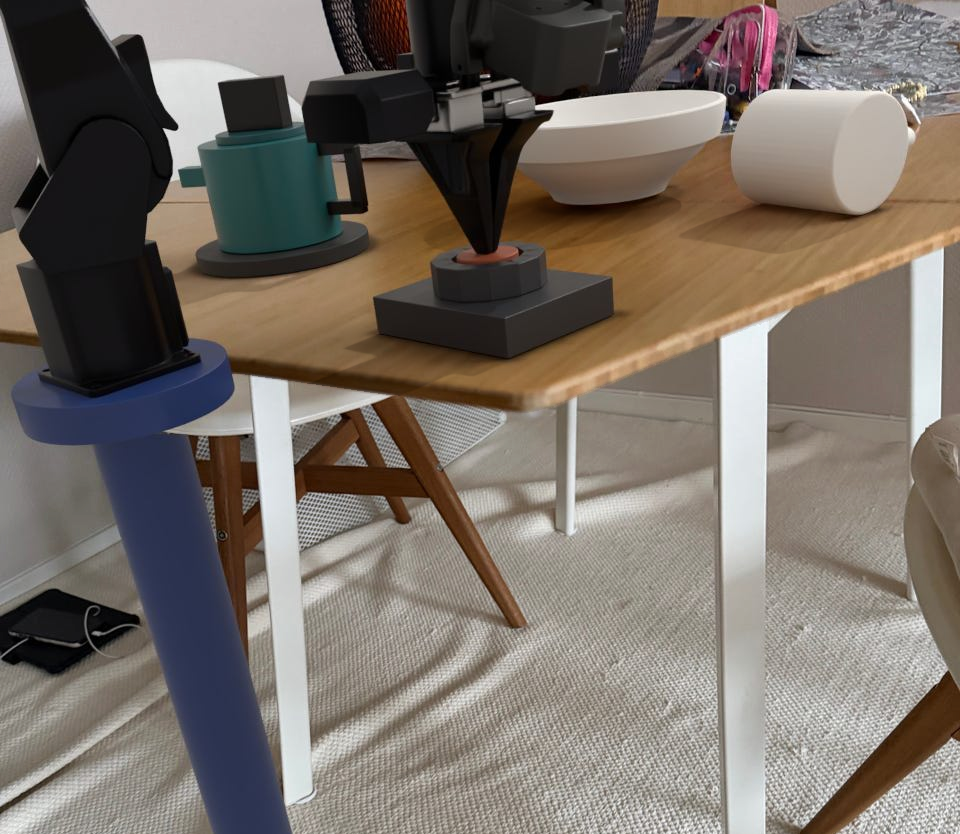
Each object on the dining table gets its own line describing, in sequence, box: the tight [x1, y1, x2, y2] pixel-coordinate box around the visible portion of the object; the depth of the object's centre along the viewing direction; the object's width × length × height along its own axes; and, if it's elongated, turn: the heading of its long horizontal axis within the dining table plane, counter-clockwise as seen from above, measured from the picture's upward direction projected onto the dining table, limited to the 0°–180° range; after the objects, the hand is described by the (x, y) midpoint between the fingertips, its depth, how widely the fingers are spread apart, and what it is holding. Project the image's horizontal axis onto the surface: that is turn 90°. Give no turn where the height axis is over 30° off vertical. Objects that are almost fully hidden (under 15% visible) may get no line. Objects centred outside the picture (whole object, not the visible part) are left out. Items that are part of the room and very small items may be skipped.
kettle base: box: [195, 220, 371, 278], centre depth 89 cm, size 14×14×1 cm
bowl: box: [516, 89, 727, 206], centre depth 92 cm, size 20×20×7 cm
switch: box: [456, 245, 519, 265], centre depth 63 cm, size 4×4×2 cm
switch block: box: [372, 240, 615, 360], centre depth 64 cm, size 11×9×4 cm
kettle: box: [177, 74, 369, 254], centre depth 85 cm, size 16×10×12 cm, turn 69°
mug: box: [730, 88, 917, 216], centre depth 81 cm, size 12×10×8 cm
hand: (486, 252), depth 63 cm, fingers closed, pressing on switch
